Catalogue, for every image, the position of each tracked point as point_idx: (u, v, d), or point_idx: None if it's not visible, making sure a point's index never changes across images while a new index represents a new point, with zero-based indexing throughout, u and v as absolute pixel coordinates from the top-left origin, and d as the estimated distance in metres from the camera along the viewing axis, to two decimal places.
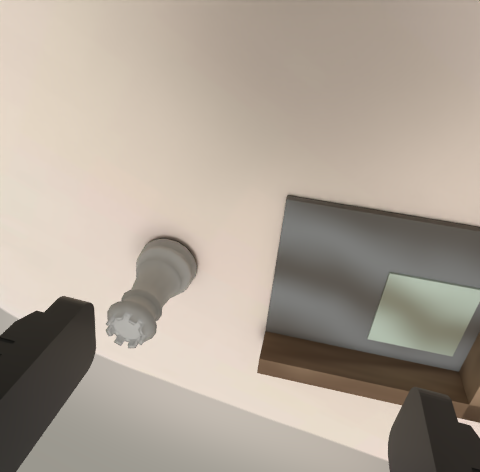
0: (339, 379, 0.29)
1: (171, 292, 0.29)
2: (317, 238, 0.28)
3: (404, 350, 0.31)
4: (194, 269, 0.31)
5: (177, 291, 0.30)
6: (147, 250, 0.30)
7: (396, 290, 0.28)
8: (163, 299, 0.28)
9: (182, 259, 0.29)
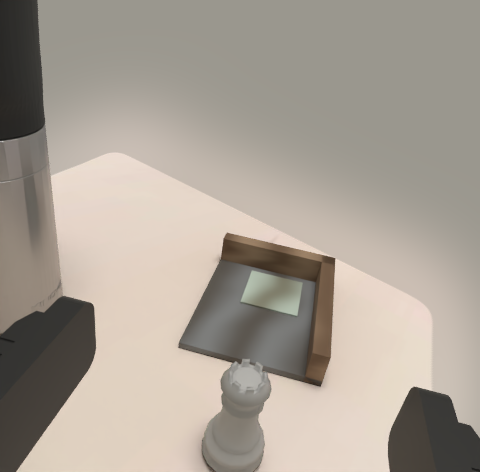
0: (320, 310, 0.39)
1: None
2: (212, 331, 0.39)
3: (304, 302, 0.45)
4: None
5: None
6: (206, 443, 0.28)
7: (253, 299, 0.44)
8: None
9: (219, 413, 0.31)
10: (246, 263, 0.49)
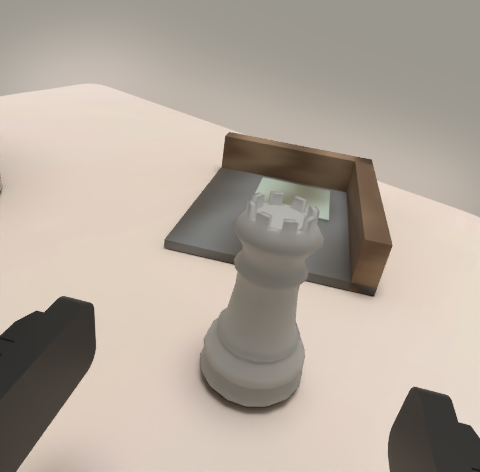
0: (365, 200, 0.28)
1: None
2: (213, 230, 0.27)
3: (335, 208, 0.33)
4: None
5: None
6: (208, 351, 0.17)
7: None
8: None
9: None
10: (255, 170, 0.38)
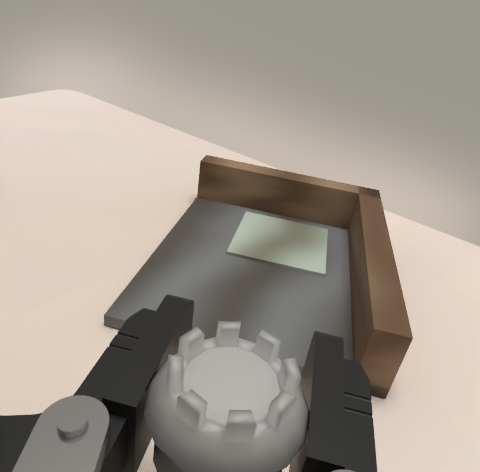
0: (372, 257, 0.21)
1: None
2: None
3: (334, 255, 0.27)
4: None
5: None
6: None
7: (249, 249, 0.26)
8: None
9: None
10: (237, 202, 0.31)
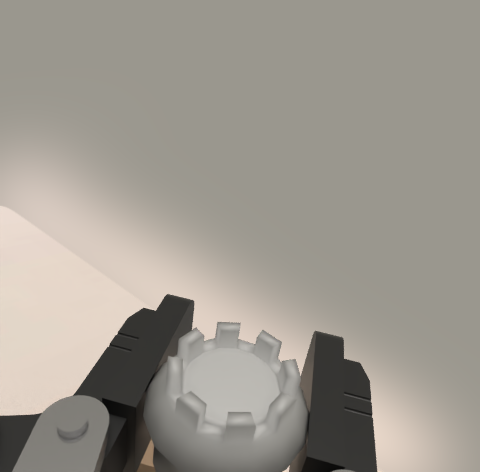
0: None
1: None
2: None
3: None
4: None
5: None
6: None
7: None
8: None
9: None
10: None
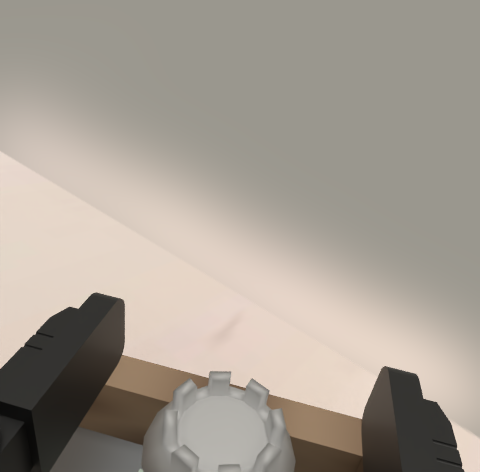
0: None
1: None
2: None
3: None
4: None
5: None
6: None
7: None
8: None
9: None
10: (129, 436, 0.16)
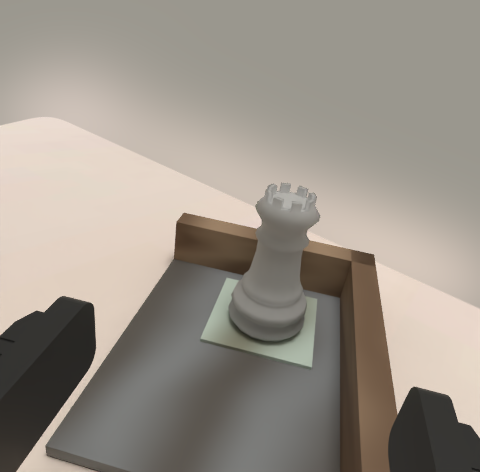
0: (364, 362, 0.18)
1: None
2: (131, 410, 0.18)
3: (323, 336, 0.24)
4: None
5: None
6: (236, 301, 0.23)
7: (226, 334, 0.23)
8: None
9: None
10: (217, 265, 0.28)
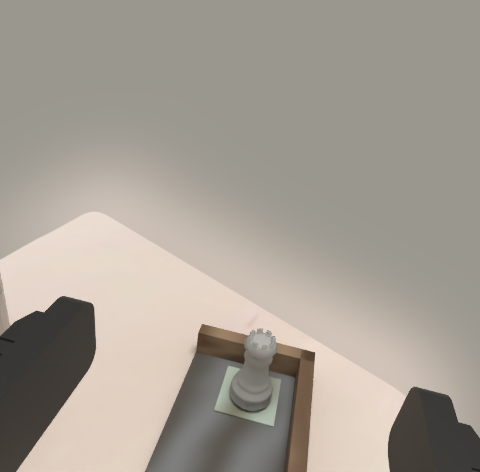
0: (296, 428, 0.37)
1: None
2: (182, 453, 0.37)
3: (282, 405, 0.43)
4: None
5: None
6: (233, 389, 0.41)
7: (228, 406, 0.41)
8: None
9: None
10: (222, 356, 0.47)
